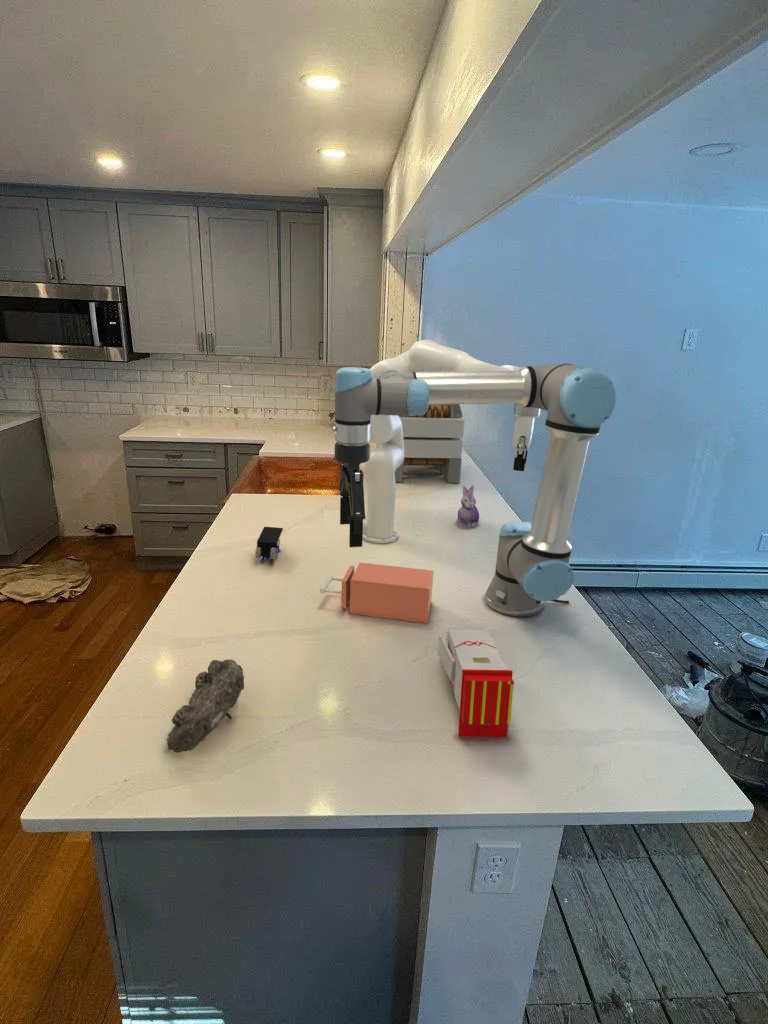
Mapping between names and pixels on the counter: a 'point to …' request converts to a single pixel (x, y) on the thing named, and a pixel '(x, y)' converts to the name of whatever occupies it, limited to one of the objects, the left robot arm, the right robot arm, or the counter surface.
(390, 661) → the counter surface
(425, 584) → the cabinet
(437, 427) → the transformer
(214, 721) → the fossil
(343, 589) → the drawer
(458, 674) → the toy
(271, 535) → the figurine character
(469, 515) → the figurine
